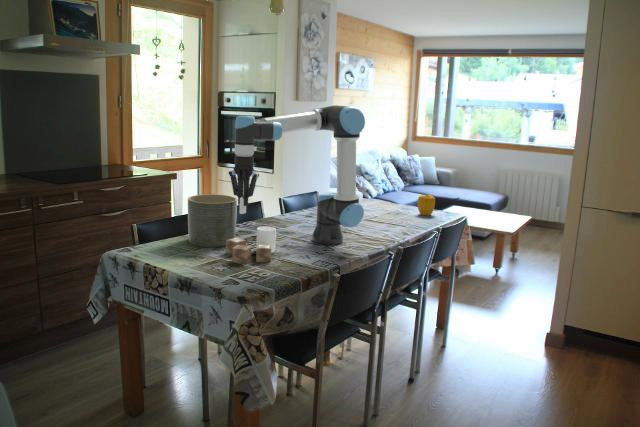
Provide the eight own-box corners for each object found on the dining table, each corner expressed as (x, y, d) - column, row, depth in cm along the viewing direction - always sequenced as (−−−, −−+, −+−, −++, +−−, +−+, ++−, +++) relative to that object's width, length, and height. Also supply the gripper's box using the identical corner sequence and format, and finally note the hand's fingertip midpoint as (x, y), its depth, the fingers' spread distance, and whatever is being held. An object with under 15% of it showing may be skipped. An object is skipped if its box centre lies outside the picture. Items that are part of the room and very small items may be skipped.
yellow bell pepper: (421, 212, 347) (422, 192, 344) (436, 215, 341) (438, 194, 338) (413, 214, 338) (415, 194, 335) (429, 217, 332) (431, 196, 329)
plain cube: (251, 259, 229) (251, 246, 228) (246, 264, 223) (246, 249, 222) (237, 258, 230) (237, 244, 229) (232, 262, 224) (232, 248, 223)
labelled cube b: (271, 258, 233) (271, 244, 232) (270, 262, 227) (271, 248, 226) (256, 257, 233) (257, 244, 231) (256, 262, 227) (256, 248, 225)
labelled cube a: (245, 253, 239) (246, 239, 237) (235, 255, 234) (236, 242, 233) (236, 250, 242) (236, 237, 241) (226, 253, 237) (226, 239, 236)
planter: (177, 243, 248) (177, 199, 244) (204, 233, 268) (205, 192, 264) (220, 250, 241) (221, 205, 236) (244, 239, 261) (245, 197, 257)
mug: (268, 245, 251) (268, 224, 249) (283, 249, 248) (284, 226, 245) (252, 251, 241) (253, 228, 239) (268, 254, 237) (268, 231, 235)
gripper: (263, 155, 219) (261, 213, 224) (234, 153, 223) (233, 209, 228) (254, 157, 212) (252, 216, 217) (225, 154, 217) (223, 212, 221)
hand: (242, 213), depth 223 cm, fingers closed
